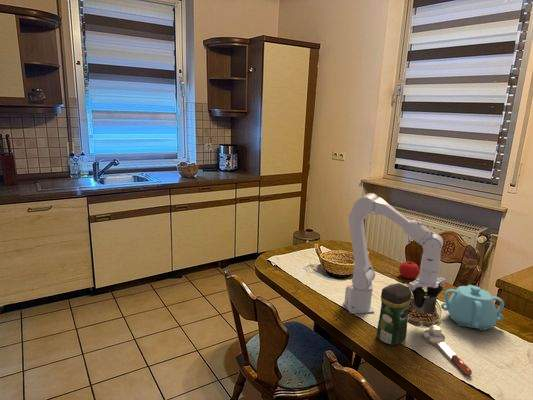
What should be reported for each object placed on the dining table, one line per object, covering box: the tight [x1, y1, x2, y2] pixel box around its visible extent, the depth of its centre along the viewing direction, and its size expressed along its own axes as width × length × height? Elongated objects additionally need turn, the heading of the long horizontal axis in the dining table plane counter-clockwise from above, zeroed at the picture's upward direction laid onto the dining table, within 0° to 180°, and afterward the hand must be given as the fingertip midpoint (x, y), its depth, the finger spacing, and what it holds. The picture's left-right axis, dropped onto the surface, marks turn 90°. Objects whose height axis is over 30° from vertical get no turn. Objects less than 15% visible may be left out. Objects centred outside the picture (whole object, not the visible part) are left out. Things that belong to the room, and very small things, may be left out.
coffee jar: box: [376, 282, 412, 346], centre depth 119 cm, size 10×8×19 cm
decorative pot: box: [440, 284, 505, 331], centre depth 132 cm, size 16×16×14 cm
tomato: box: [398, 260, 420, 280], centre depth 168 cm, size 9×9×8 cm
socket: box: [412, 289, 438, 315], centre depth 127 cm, size 5×5×6 cm
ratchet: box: [422, 324, 473, 376], centre depth 114 cm, size 21×6×4 cm, turn 8°
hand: (423, 305), depth 128 cm, fingers closed on socket, 5 cm apart
